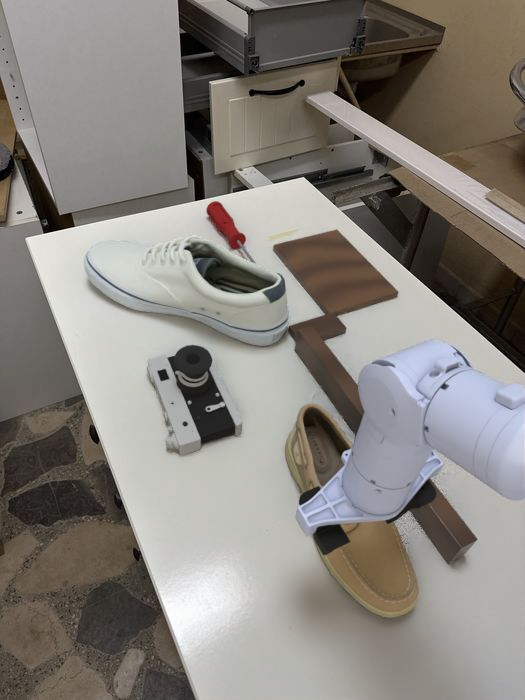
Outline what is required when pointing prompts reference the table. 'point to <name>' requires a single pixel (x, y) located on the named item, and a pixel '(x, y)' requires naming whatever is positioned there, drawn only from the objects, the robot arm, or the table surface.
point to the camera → (193, 399)
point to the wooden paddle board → (335, 299)
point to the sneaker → (193, 285)
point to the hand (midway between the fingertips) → (353, 529)
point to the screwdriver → (227, 226)
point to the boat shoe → (366, 537)
